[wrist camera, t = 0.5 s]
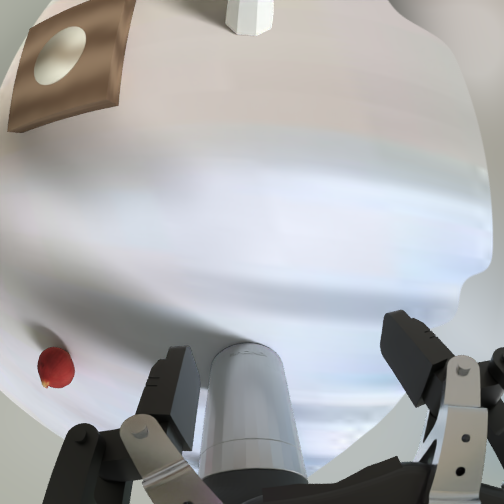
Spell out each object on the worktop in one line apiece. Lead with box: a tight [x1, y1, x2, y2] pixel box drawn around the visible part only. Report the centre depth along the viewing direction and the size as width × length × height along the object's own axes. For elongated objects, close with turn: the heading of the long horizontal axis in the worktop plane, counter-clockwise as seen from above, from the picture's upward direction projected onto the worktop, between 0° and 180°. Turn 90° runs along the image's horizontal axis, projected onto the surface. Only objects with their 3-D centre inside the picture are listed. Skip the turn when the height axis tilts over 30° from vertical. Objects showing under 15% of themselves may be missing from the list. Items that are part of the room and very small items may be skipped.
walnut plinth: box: [7, 0, 136, 133], centre depth 20 cm, size 16×16×3 cm
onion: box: [37, 347, 75, 388], centre depth 28 cm, size 6×6×8 cm
